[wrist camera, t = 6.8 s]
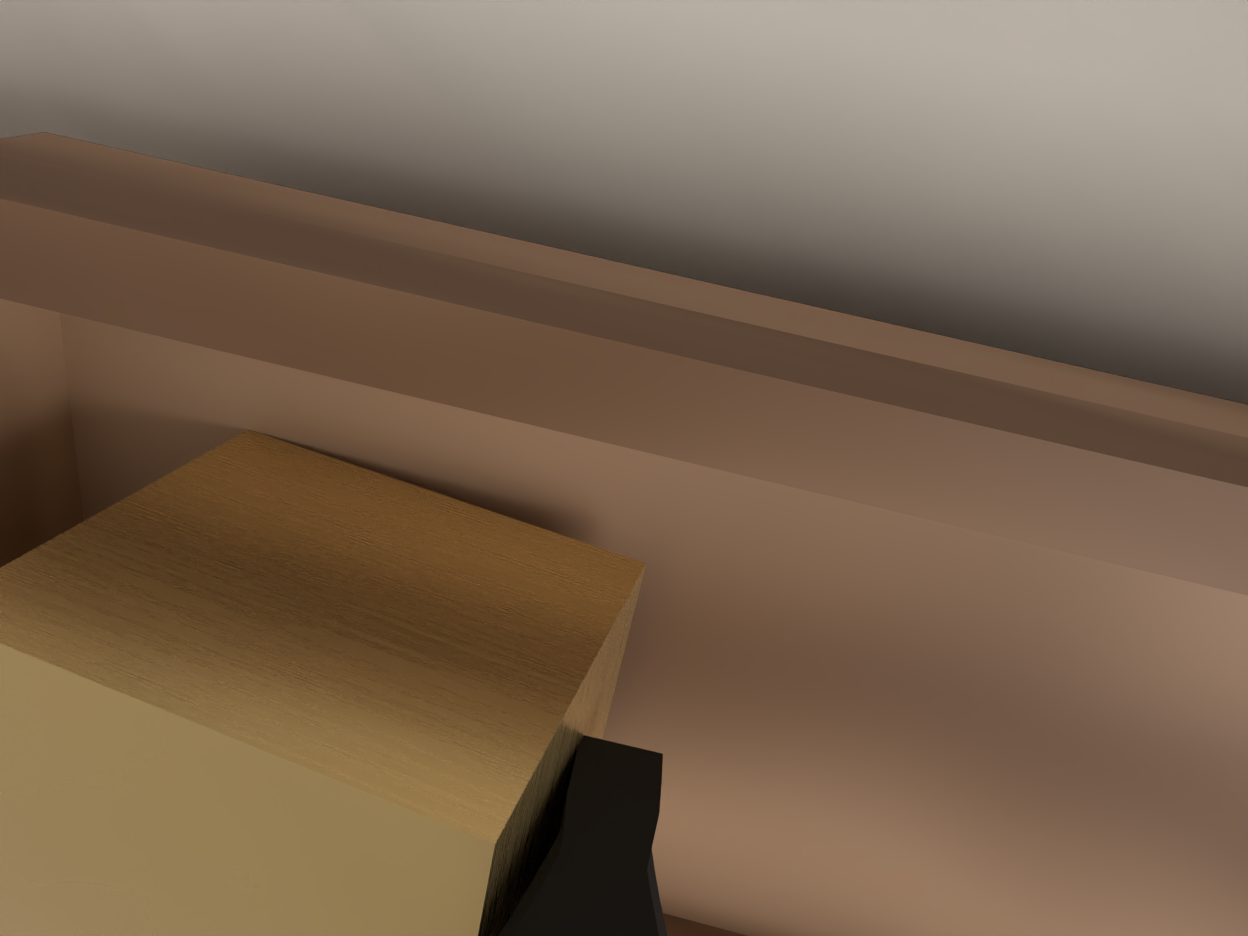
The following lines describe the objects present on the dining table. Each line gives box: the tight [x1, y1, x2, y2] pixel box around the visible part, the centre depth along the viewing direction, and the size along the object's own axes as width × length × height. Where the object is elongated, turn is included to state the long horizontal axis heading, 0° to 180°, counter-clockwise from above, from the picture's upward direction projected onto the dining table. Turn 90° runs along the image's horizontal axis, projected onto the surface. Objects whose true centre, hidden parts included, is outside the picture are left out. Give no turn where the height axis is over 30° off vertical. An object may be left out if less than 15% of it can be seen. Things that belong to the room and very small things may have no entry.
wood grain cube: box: [0, 430, 646, 936], centre depth 10 cm, size 5×5×4 cm
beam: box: [0, 132, 1248, 936], centre depth 11 cm, size 10×28×3 cm, turn 79°
